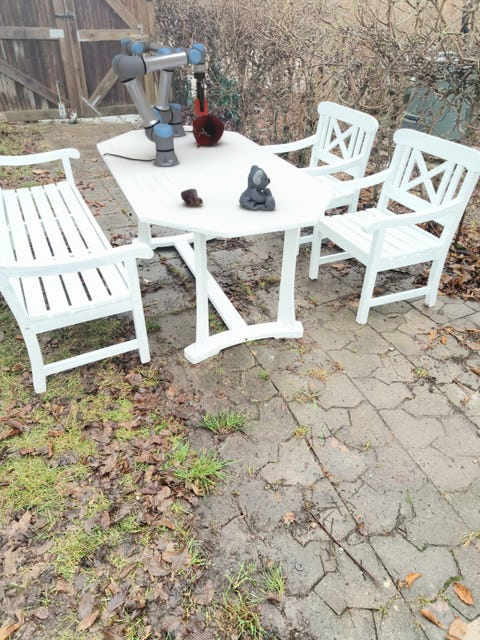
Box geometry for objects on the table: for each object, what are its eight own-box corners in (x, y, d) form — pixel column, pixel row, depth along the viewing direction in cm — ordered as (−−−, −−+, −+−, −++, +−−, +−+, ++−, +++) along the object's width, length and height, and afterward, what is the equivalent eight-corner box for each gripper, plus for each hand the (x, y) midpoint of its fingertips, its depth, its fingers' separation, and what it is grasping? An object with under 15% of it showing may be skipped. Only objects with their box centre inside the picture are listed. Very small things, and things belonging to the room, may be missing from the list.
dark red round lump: (190, 120, 341) (188, 116, 317) (221, 113, 340) (220, 109, 316) (197, 149, 348) (195, 148, 324) (227, 142, 347) (227, 141, 323)
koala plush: (276, 211, 223) (277, 171, 212) (240, 212, 222) (240, 172, 211) (271, 199, 237) (272, 161, 226) (237, 200, 236) (237, 162, 225)
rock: (196, 202, 238) (178, 205, 233) (194, 185, 234) (176, 188, 230) (205, 205, 228) (187, 208, 224) (203, 188, 224) (185, 191, 220)
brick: (207, 115, 303) (207, 99, 297) (196, 115, 301) (196, 100, 295) (206, 113, 306) (205, 98, 301) (195, 114, 305) (194, 99, 299)
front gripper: (208, 73, 283) (209, 113, 296) (201, 70, 297) (203, 108, 310) (197, 73, 281) (198, 113, 294) (190, 70, 295) (192, 109, 308)
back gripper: (135, 63, 337) (139, 94, 349) (131, 60, 356) (135, 90, 368) (125, 63, 335) (129, 95, 347) (121, 61, 354) (125, 91, 366)
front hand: (201, 111), depth 302 cm, fingers closed on brick, 5 cm apart
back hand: (132, 92), depth 357 cm, fingers open, 13 cm apart
